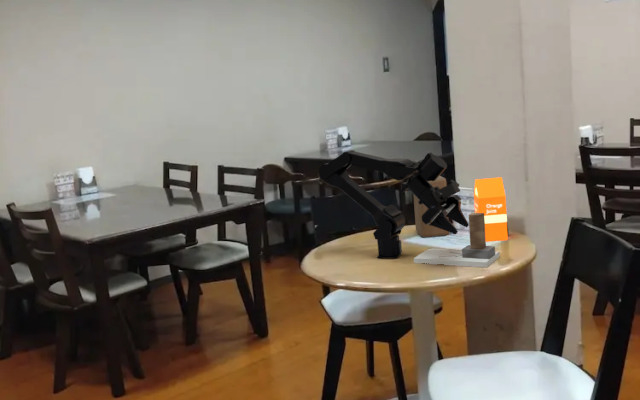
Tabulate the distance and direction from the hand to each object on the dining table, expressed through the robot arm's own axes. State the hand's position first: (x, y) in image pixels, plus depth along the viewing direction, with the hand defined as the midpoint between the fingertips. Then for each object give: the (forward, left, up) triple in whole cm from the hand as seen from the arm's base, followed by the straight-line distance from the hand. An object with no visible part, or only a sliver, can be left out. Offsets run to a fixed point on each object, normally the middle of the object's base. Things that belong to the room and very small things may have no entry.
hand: (462, 229), depth 195 cm
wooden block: (-16, +35, -9) cm, 40 cm away
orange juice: (+5, +27, -9) cm, 29 cm away
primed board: (-2, 0, -9) cm, 10 cm away
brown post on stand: (+4, -1, -8) cm, 9 cm away
